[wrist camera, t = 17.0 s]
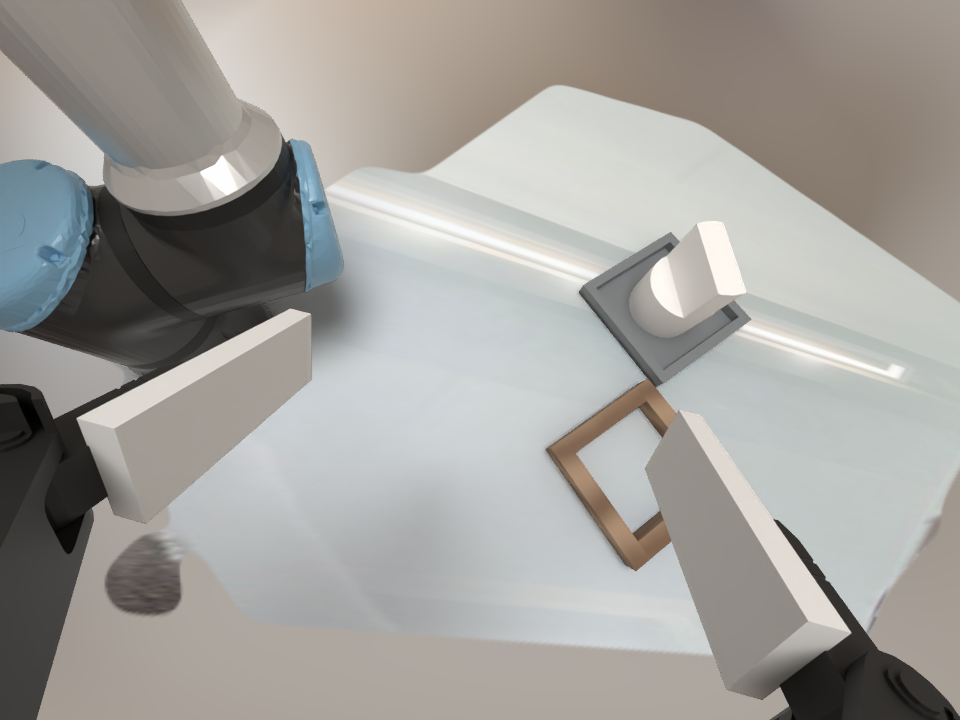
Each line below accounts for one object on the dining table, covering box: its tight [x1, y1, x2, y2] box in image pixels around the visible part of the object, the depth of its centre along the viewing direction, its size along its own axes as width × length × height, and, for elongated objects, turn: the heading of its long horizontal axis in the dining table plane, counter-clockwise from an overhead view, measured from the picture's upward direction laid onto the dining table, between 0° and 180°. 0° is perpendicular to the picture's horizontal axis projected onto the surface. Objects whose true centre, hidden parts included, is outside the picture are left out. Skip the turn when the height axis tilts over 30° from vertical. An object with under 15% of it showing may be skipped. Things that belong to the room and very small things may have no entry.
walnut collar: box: [546, 379, 676, 571], centre depth 42 cm, size 15×15×2 cm
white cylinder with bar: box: [629, 221, 746, 338], centre depth 44 cm, size 9×9×12 cm
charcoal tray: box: [579, 232, 752, 387], centre depth 49 cm, size 16×16×2 cm
